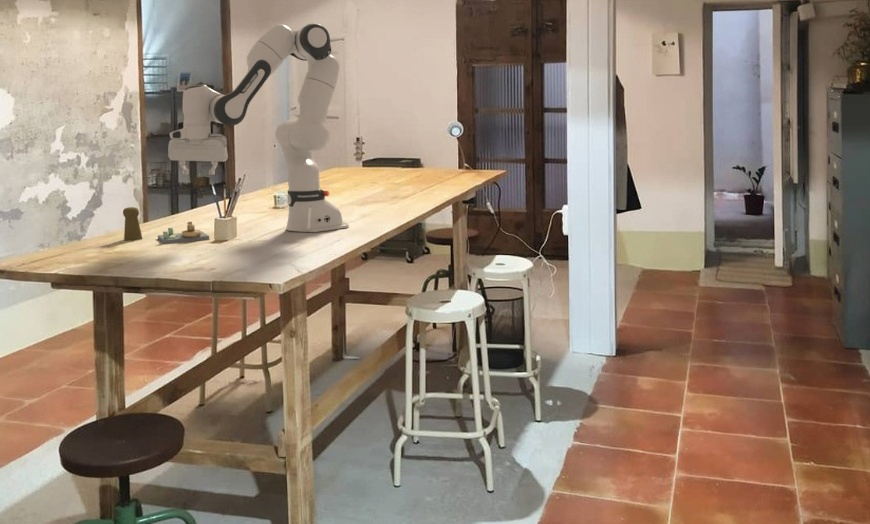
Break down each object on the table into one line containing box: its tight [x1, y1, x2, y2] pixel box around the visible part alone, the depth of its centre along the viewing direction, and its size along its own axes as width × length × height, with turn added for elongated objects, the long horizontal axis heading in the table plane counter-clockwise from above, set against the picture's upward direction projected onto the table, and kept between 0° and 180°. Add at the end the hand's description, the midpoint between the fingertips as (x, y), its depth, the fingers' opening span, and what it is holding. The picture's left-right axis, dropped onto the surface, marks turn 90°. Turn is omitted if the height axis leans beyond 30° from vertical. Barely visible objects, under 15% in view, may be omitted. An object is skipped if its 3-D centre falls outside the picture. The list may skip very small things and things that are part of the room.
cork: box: [122, 206, 143, 242], centre depth 306 cm, size 6×6×11 cm
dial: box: [181, 221, 201, 237], centre depth 305 cm, size 10×6×4 cm, turn 18°
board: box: [157, 227, 210, 245], centre depth 305 cm, size 15×11×4 cm
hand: (198, 174), depth 303 cm, fingers open, 8 cm apart
